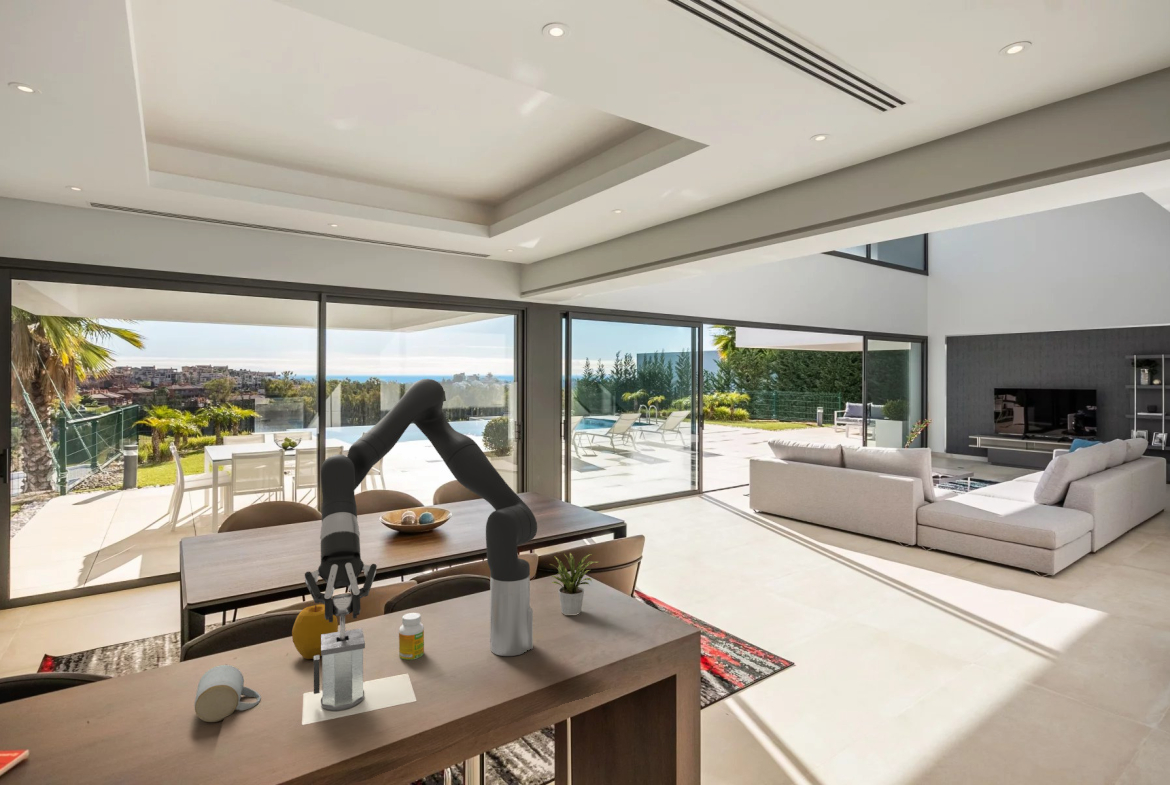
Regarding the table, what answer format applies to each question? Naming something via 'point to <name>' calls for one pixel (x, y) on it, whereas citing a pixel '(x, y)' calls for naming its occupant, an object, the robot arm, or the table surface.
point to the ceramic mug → (222, 693)
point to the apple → (312, 630)
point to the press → (340, 670)
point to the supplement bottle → (411, 637)
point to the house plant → (571, 585)
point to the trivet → (375, 697)
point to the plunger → (342, 610)
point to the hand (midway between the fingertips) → (342, 618)
